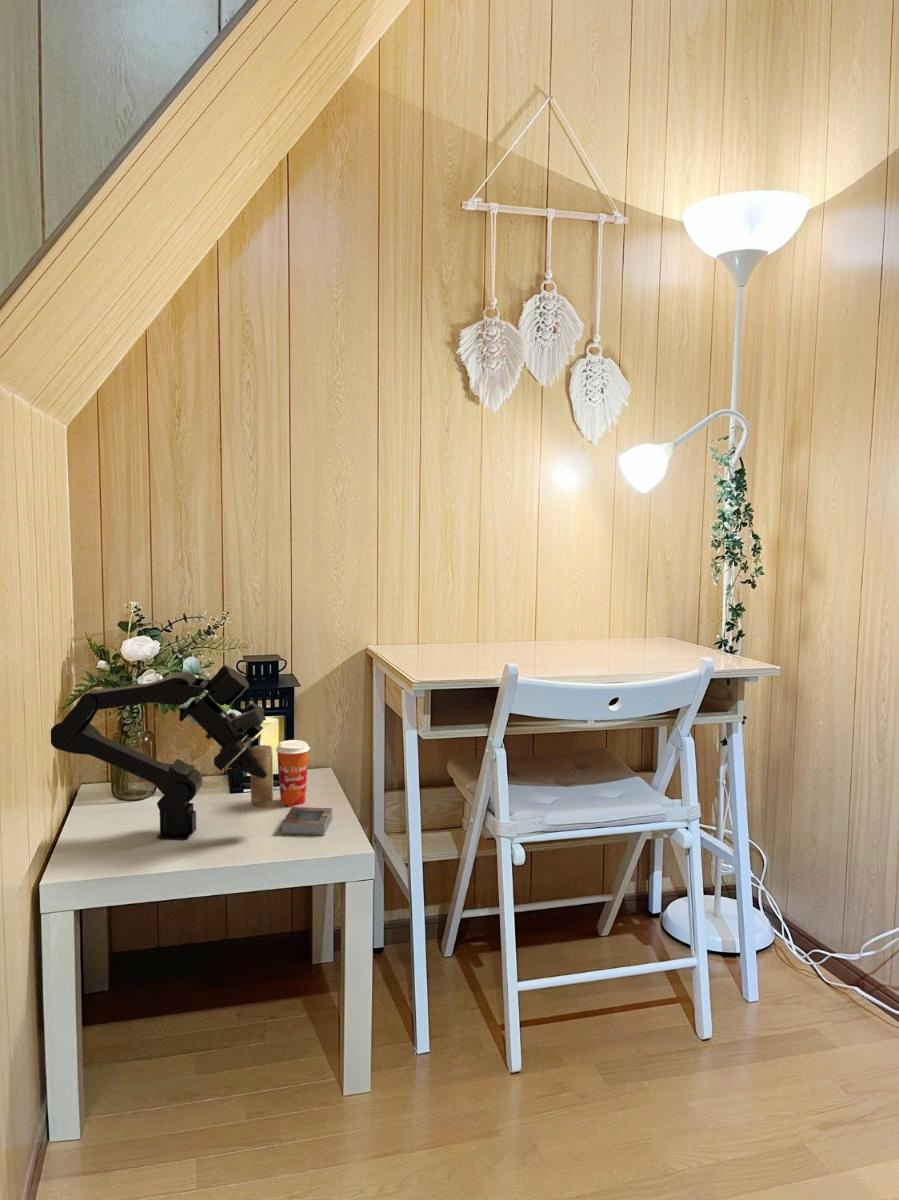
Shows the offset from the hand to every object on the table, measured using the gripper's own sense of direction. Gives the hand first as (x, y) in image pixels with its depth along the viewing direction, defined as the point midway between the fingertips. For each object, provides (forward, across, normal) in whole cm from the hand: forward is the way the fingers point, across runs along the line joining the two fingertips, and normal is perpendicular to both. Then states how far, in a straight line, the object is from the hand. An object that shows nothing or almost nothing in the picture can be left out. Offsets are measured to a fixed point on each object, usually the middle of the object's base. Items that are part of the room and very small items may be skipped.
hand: (267, 773), depth 197 cm
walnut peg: (+4, 0, +6) cm, 7 cm away
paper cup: (+10, +22, +9) cm, 26 cm away
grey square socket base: (+14, +6, +5) cm, 16 cm away
